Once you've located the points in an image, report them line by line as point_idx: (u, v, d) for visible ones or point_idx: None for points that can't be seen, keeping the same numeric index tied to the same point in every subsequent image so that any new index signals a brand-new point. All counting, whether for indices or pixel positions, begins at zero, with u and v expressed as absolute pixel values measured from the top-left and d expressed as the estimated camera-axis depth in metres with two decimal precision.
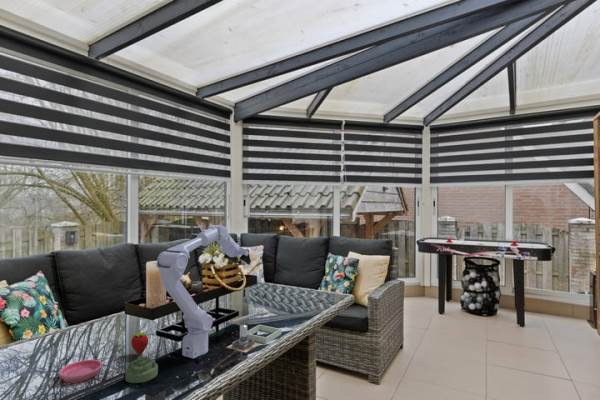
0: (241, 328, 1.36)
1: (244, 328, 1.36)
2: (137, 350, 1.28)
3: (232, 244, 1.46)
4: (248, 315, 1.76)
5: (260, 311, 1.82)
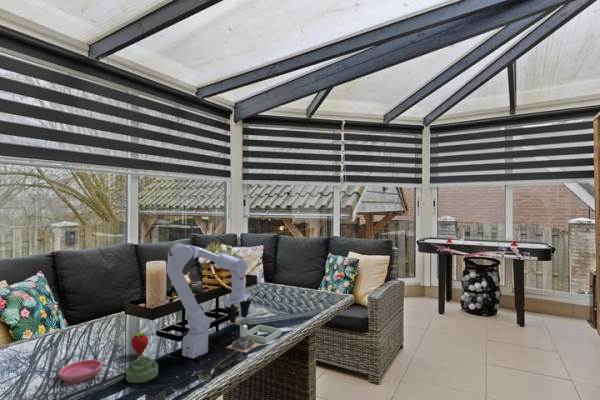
0: (241, 328, 1.36)
1: (244, 328, 1.36)
2: (137, 350, 1.28)
3: (240, 287, 1.40)
4: (248, 315, 1.76)
5: (260, 311, 1.82)
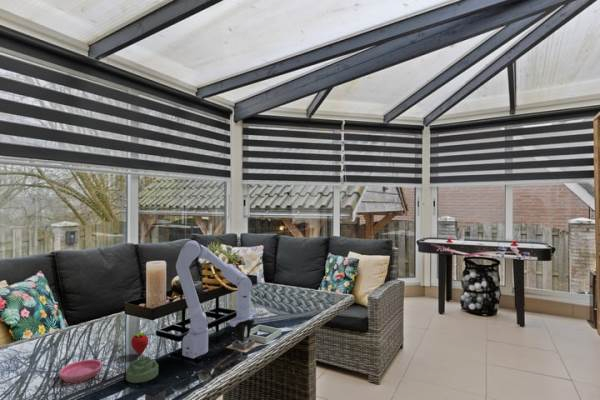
0: None
1: None
2: (137, 350, 1.28)
3: (244, 305, 1.35)
4: None
5: (260, 311, 1.81)
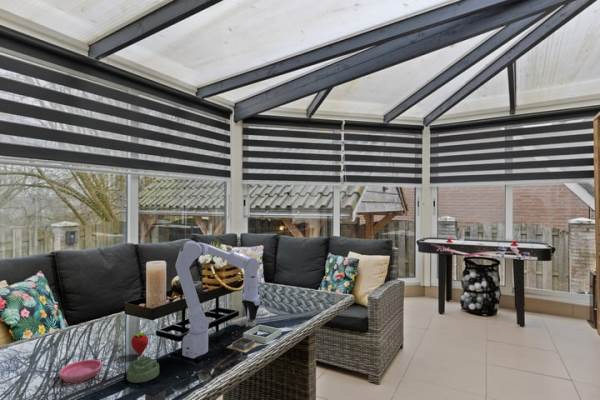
0: None
1: None
2: (137, 350, 1.28)
3: (252, 285, 1.39)
4: None
5: (260, 312, 1.81)
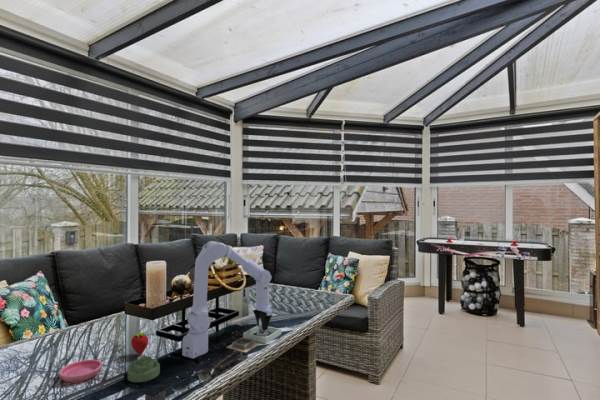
0: None
1: None
2: (137, 350, 1.28)
3: (265, 296, 1.46)
4: (247, 316, 1.74)
5: None
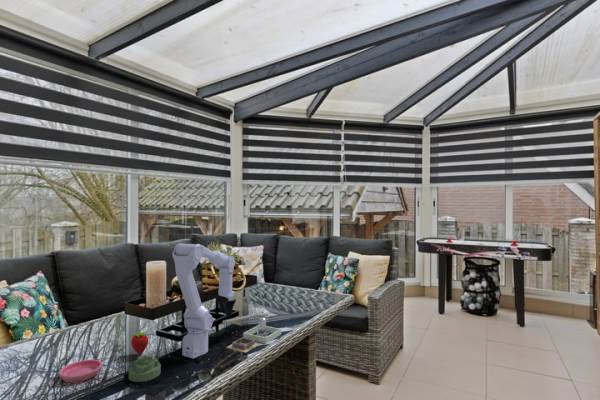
0: (264, 320, 1.46)
1: (265, 319, 1.48)
2: (137, 350, 1.28)
3: (230, 281, 1.48)
4: (245, 316, 1.75)
5: (259, 313, 1.79)
